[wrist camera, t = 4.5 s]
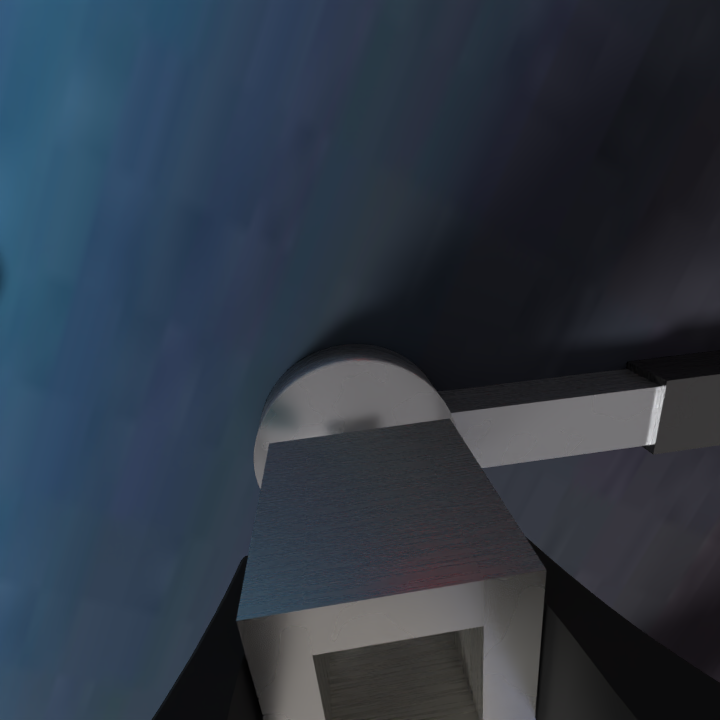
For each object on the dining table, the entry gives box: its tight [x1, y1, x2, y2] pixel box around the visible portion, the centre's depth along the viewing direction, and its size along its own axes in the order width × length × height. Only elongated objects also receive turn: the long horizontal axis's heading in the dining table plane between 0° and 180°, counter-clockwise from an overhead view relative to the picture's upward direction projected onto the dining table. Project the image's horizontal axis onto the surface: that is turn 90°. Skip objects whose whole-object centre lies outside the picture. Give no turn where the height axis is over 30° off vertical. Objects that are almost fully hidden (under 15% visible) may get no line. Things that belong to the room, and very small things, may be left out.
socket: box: [236, 418, 546, 720], centre depth 10 cm, size 5×5×5 cm
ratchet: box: [254, 344, 720, 489], centre depth 15 cm, size 7×20×4 cm, turn 95°
